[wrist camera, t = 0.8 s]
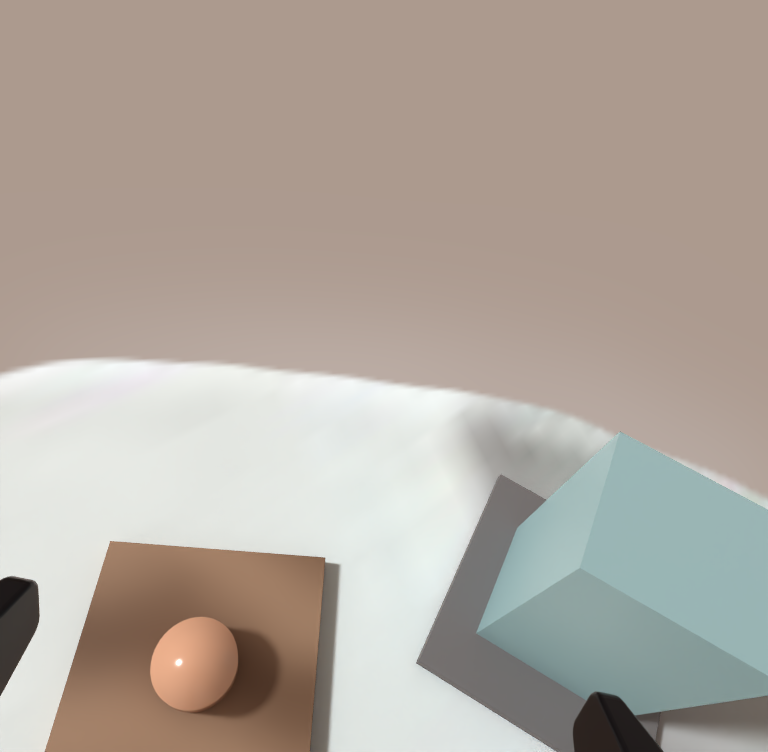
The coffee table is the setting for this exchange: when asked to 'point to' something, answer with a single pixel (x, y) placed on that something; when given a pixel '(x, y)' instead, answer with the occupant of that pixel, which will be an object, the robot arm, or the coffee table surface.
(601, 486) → the pale teal block
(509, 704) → the mat
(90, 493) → the coffee table surface
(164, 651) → the peach flattened ellipsoid
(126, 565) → the coaster
